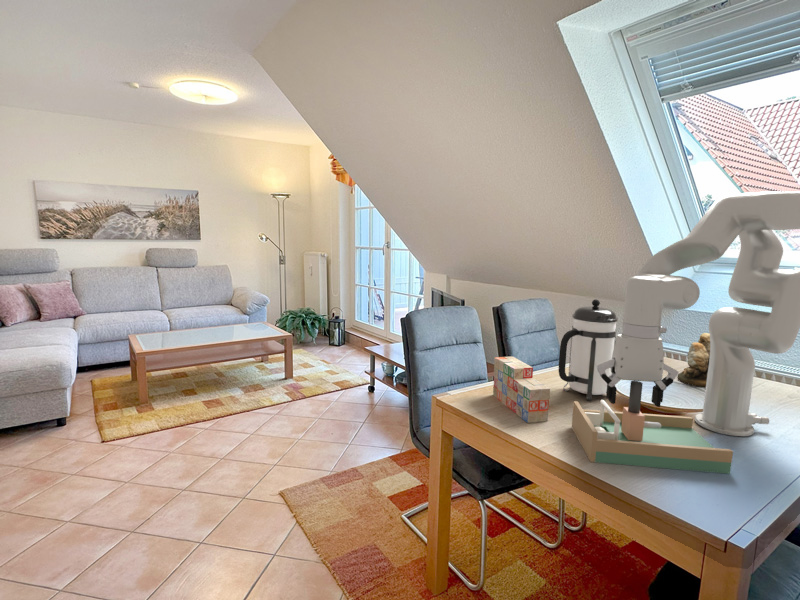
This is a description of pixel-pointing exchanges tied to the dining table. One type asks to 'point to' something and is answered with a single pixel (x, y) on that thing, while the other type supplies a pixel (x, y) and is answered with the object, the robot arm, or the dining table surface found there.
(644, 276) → the robot arm
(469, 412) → the dining table surface
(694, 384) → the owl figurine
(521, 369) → the stack of blocks
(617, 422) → the pitch
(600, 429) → the ball
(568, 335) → the coffee press
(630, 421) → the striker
